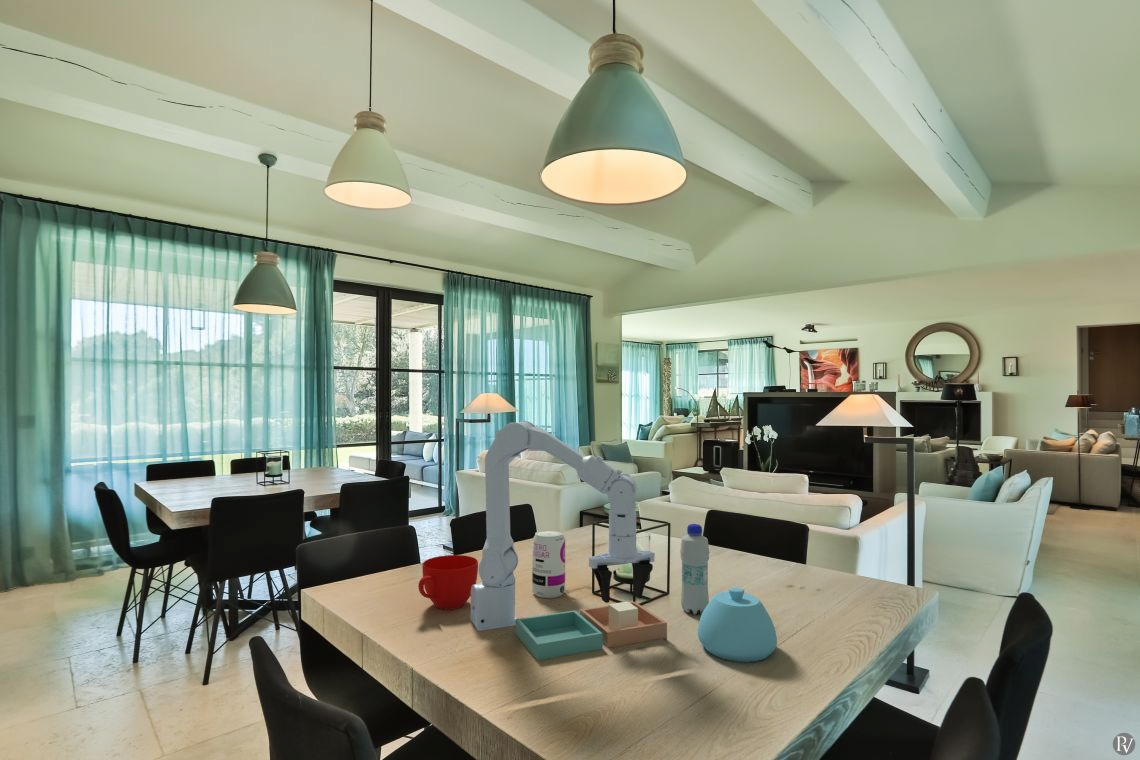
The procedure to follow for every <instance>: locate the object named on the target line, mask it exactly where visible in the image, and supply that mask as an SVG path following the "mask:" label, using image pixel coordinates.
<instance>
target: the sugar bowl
mask: <svg viewBox="0 0 1140 760" xmlns="http://www.w3.org/2000/svg"><path fill="white" fill-rule="evenodd" d="M700 615H701V616H700V619H699V622H698V627H697V637H698V639H699V642H700V643H701V645H702V646H703V647H704V648H705V649H706V651H707V652H708V653H710V654H712V655H713V656H715V657H717V658H720V659H723V660H726V659H727V661H731V660H733V661H732V662H738V661H742V662H741V663H751V662H750V661H754V662H759V661H758V660H760V661H763V660H765V659H767V658H768V657H769V656H770V655H771V654H772V653H773V652H774V651H775V649H776V648H777V645H778V638H777V633H776V628H775V626H774V623H773V620H772V618H771V616H770V614H769V613H768V610H767V609H766V608H765V606H764V605H763V603H762V601H761V600H760V599H759V598H758V597H756V596H755V595H752V594H749V593H745V590H744V589H743V588H741V587H729V588H728V591H722V592H721V591H720V592H718V593H715V594H714V595H713V596H712V598H711V599H710V601H709V603H708V605H707V606H706V608H705V609H704V611H703V613H702V614H700ZM762 659H763V660H762Z"/></svg>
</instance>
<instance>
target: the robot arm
mask: <svg viewBox="0 0 1140 760" xmlns="http://www.w3.org/2000/svg"><path fill="white" fill-rule="evenodd" d="M525 451H531V452H532V451H533V452H535V451H537V452H545V453H547V454H549V455H551V456H552V457H554V458H556V459H557V460H560V462H563V463H564V464H567V465H568V466H570V467H571V468H573V469H575V471H576V474H577V478H578V479H579V480H582V481H583V482H584V483H586V484H587V485H588V486H591V488H594V489H595V490H597V491H598V492H600V493H601V494H603V495H604V494H606V496H607V498H608V500H609V511H608V552H605V553H603V554H598V555H594V556H589V557H588V566H589V567H590V569H591V570H592V572H593V574H594V576H595V579H596V581H597V584H598V587H599V591H600V596H601V600H602V601H603V602H604V603H605V604H607V603H608V604H610V599H611V597H610V595H611V593H610V591H611V579H612V575H613V572H612V571H611V570H610V568H609V566H610V567H611V566H618V565H630V564H631V565H632V566H631V567H632V572H633V574H632V575H633V595H634V597H636V598H638V599H643V593H644V589H645V586H646V583H647V580H648V578H649V577H650V574H651V572H652V571H653V568H654V567H653V563H654V562H655V552H654V551H652V550H640V551H639V550H637V511H636V509H637V508H636V507H637V504H636V495H637V493H638V484H637V483H636V481H635V479H634V478H633V477H631V475H630V474H627V473H623V470H621V469H620V468H617V469H616V468H614V467H612V466H610V465H609V464H608V463H606V462H605V461H603V460H604V458H603V457H602V456H600V455H597V456H595V455H593V454H591V455H590V454H589V455H587V456H584V455H582V454H581V453H580V452H577V451H576V450H575V449H573V448H572V447H571V446H569V445H568V444H566V443H564V442H563V441H562V440H560V439H559V438H558V437H556V436H555V435H553V434H552V433H551V432H548V431H547V430H546V429H544V428H542V427H541V426H537V425H535V424H533V422H530V421H526V420H522V421H519V422H509V423H508V424H505V425H504V426H503V427H502V428H500V429H499V430H498V431H497V432H496V433H495V437H494V439H493V442H492V443H491V445H490V446H489V448H488V450H487V452H486V454H485V456H484V474H485V477H484V478H485V479H484V480H485V481H484V482H485V514H486V515H485V516H486V517H485V523H486V528H485V529H486V539H485V543H484V544H483V545H484V546H483V548H482V553H481V554H482V556H481V561H480V563H478V575H479V577H480V579H481V582H478V583H476V584H474V585H472V587H471V596H470V614H469V615H470V617H469V619H470V621H471V623H472V624H473V626H474V627H475V629H476V630H477V631H480V632H481V631H486V630H492V629H499V628H505V627H512V626H516V619H518V618H517V617H516V577H515V574H514V572H515V570H516V569H517V567H518V564H519V556H518V554H517V552H516V550H515V546H514V544H515V543H514V540H513V538H512V536H511V512H510V510H511V509H510V506H511V505H510V504H511V503H510V502H511V500H510V467H509V465H510V463H511V462H512V461H514V459H516V458H517V457H518V456H519V454H521V453H523V452H525Z"/></svg>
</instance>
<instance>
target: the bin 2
mask: <svg viewBox="0 0 1140 760" xmlns="http://www.w3.org/2000/svg"><path fill="white" fill-rule="evenodd" d="M628 602H629V601H628ZM629 603H631V604H632V605H634V606H635V607H637V608H638V626H635V627H629V628H623V629H617V630H610V629H609V604H608V605H602V606H596V607H590V608H581V609H579V614H580V615H582V616H583V617H584V618H585V619H586V620H587V621H589V622H590V623H591V624H592V625H593V626H595V627H596V628H597V629H598V630H599V631H600V632H602V633H603V645H604V646H605V647H606V648H607V649H609V648H615V647H620V646H621V647H622V646H627V645H632V644H637V643H644V642H649V641H655V640H661V639H662V640H663V641H667V640H668V622H666V621H665V620H663V619H662V618H661V617H659V616H657V615H656V614H654V613H653V612H651V611H650V610H648V609H647V608H646V607H644V606H642V605H641V604H639V603H637V602H636V601H630V602H629Z"/></svg>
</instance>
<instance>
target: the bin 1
mask: <svg viewBox="0 0 1140 760" xmlns="http://www.w3.org/2000/svg"><path fill="white" fill-rule="evenodd" d="M515 635H516V636H517V638H518V639H519V640H520V641H521V643H522V644H523V645H524V646H525V647H526V649H528V651H529V653H531V655H532V656H533V657H534V658H535V659H536V661H540V660H541V661H542V660H547V659H554V658H559V657H563V656H564V657H565V656H570V655H575V654H582V653H587V652H591V651H599V650H603V648H604V647H603V645H604V644H603V633H602V632H600V631H599V630H598V629H597V628H596V627H595V626H593V625H592V624H591V623H590V622H589V621H587V620H586V619H585V618H584V617H583V616H582V615H580V612H578V611H577V610H567V611H561V612H555V613H548V614H542V615H534V616H527V617H520V618H517V619H516V625H515Z"/></svg>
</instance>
